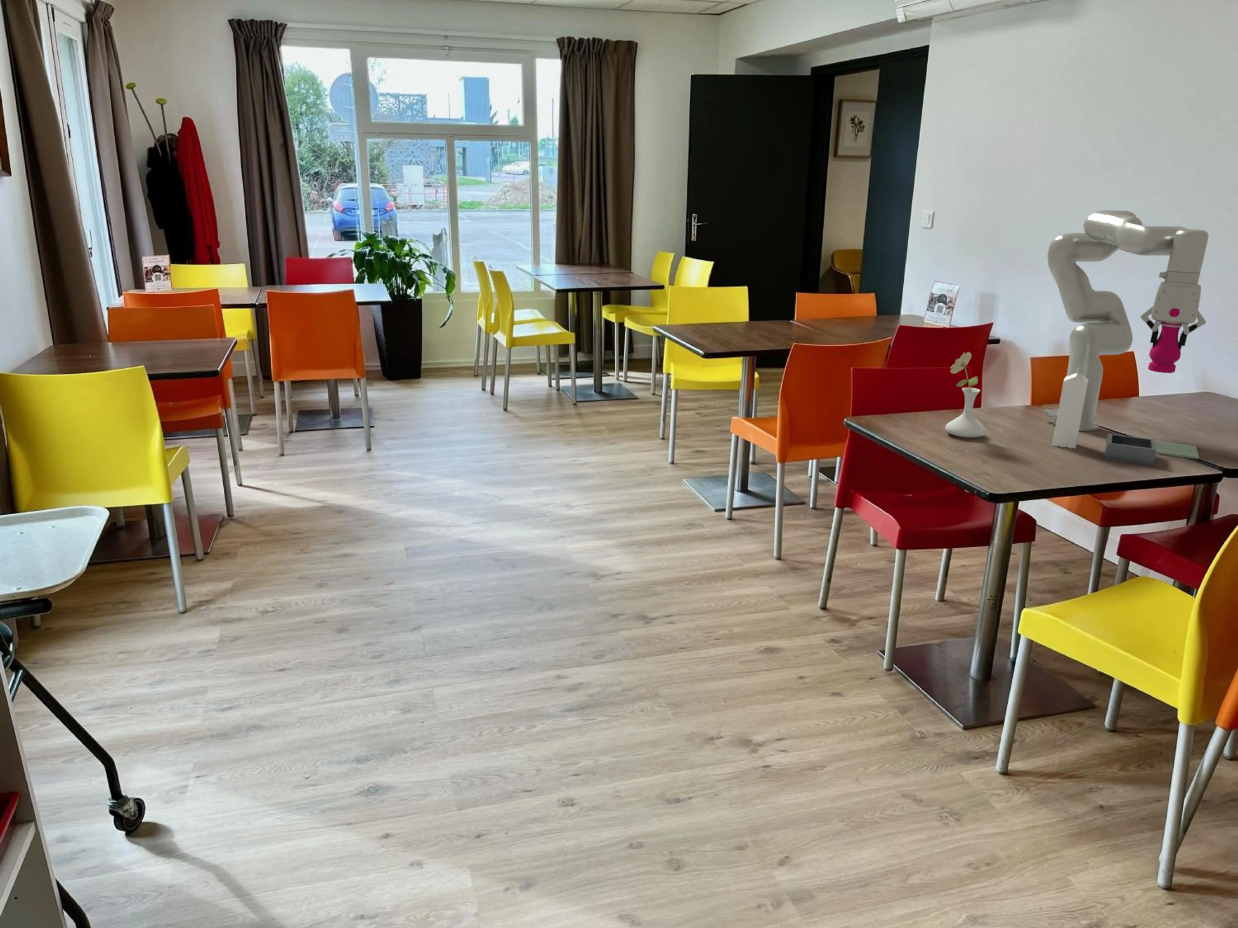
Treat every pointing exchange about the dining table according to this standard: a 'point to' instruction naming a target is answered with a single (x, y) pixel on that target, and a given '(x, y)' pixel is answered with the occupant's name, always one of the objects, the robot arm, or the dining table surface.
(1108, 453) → the grey open storage bin
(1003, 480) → the dining table surface
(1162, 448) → the mat
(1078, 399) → the milk
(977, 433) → the flower in vase
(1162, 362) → the pepper mill
